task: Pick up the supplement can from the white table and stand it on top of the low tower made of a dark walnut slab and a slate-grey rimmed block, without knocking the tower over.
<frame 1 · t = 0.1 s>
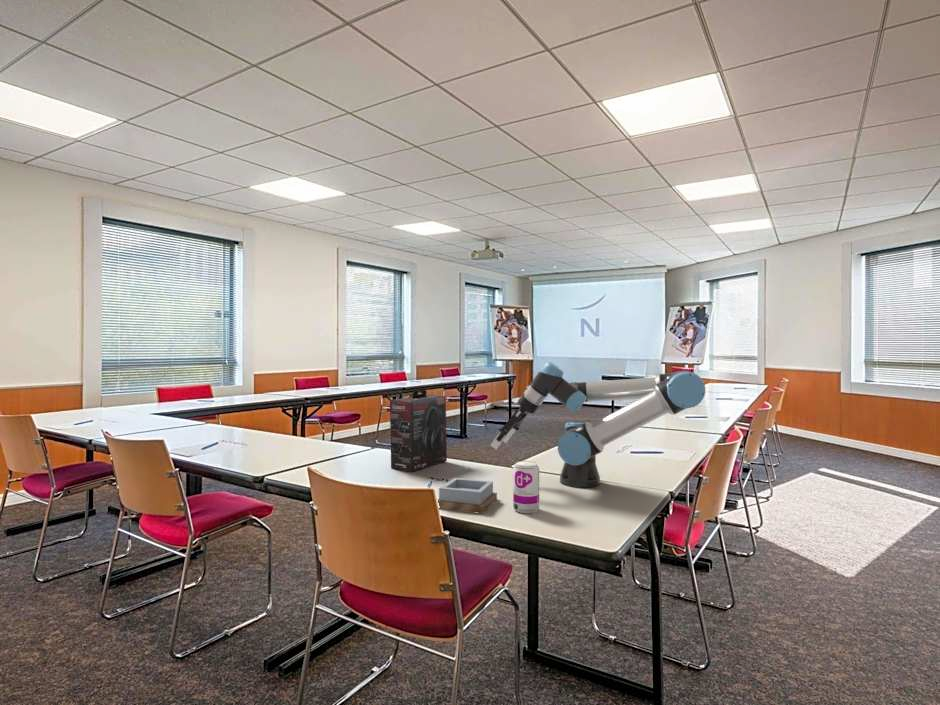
hand: (498, 443, 198), 15 cm above the table, tool tilted 35°, fingers open, 13 cm apart
headset box: (418, 465, 229), on the table
grey rimmed block: (466, 496, 174), point 2 cm above the table, touching walnut slab
supplement can: (526, 510, 168), on the table
walnut slab: (466, 505, 174), on the table, touching grey rimmed block
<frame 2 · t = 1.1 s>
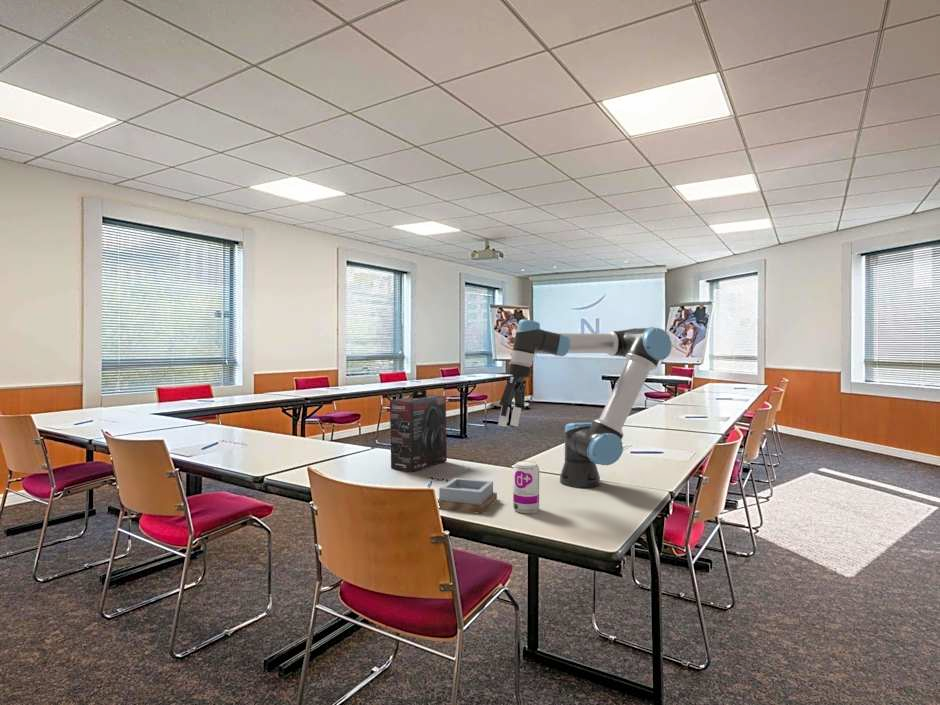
hand: (508, 426, 179), 25 cm above the table, tool pointing down, fingers open, 13 cm apart
nothing on the table moved.
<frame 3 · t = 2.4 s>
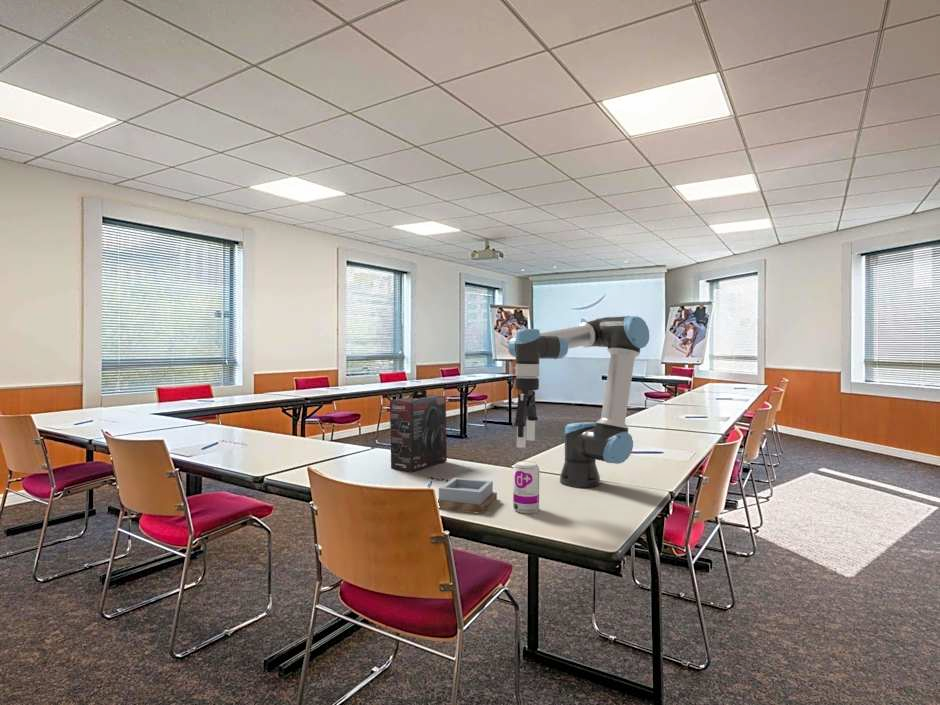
hand: (526, 443, 167), 21 cm above the table, tool pointing down, fingers open, 13 cm apart
nothing on the table moved.
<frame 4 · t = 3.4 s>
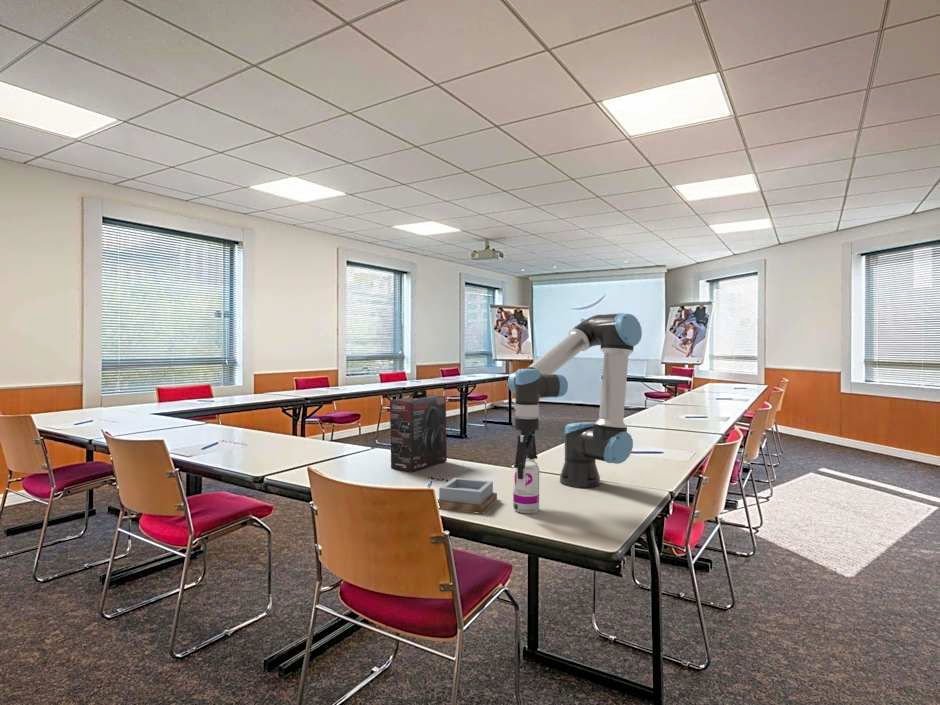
hand: (525, 483, 168), 8 cm above the table, tool pointing down, fingers open, 13 cm apart
grey rimmed block: (466, 496, 174), point 2 cm above the table
walnut slab: (467, 505, 174), on the table
everything else where it was.
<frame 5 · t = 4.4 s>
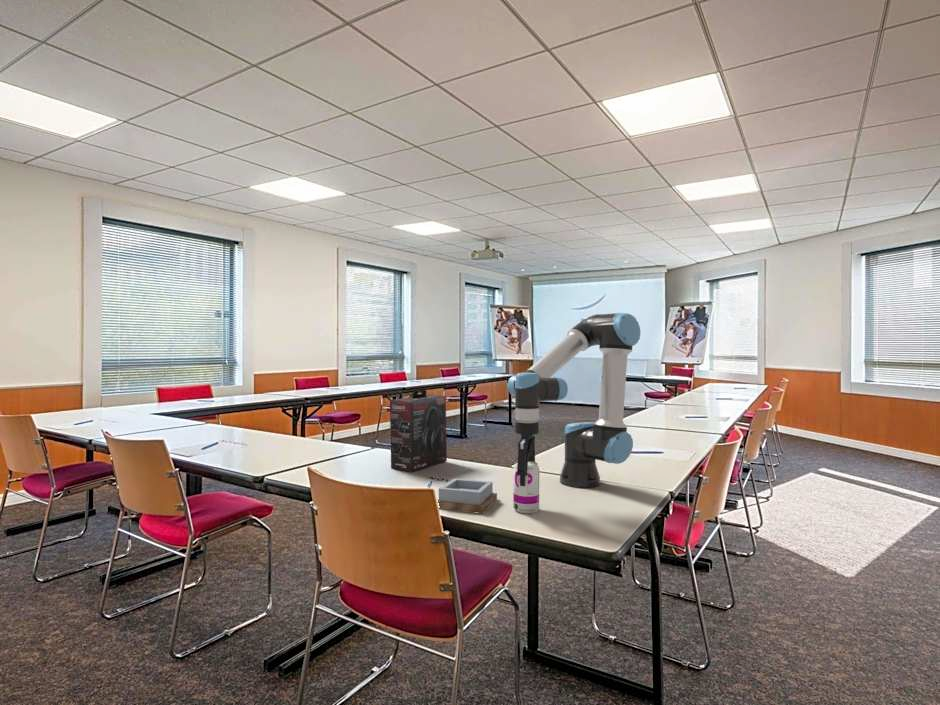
hand: (526, 491, 168), 6 cm above the table, tool pointing down, fingers closed on supplement can, 8 cm apart
grey rimmed block: (466, 497, 174), point 2 cm above the table, touching walnut slab
supplement can: (526, 510, 168), on the table, touching gripper
walnut slab: (467, 506, 174), on the table, touching grey rimmed block
everything else where it was.
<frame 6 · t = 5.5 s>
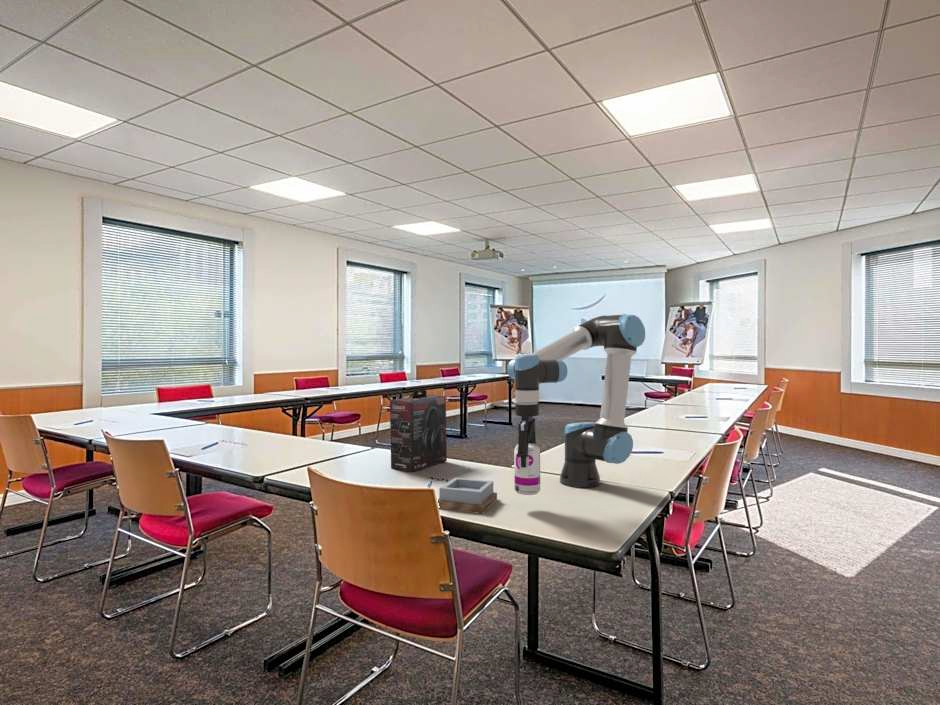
hand: (527, 473, 168), 12 cm above the table, tool pointing down, fingers closed on supplement can, 8 cm apart
supplement can: (527, 492, 168), point 6 cm above the table, touching gripper
everything else where it was.
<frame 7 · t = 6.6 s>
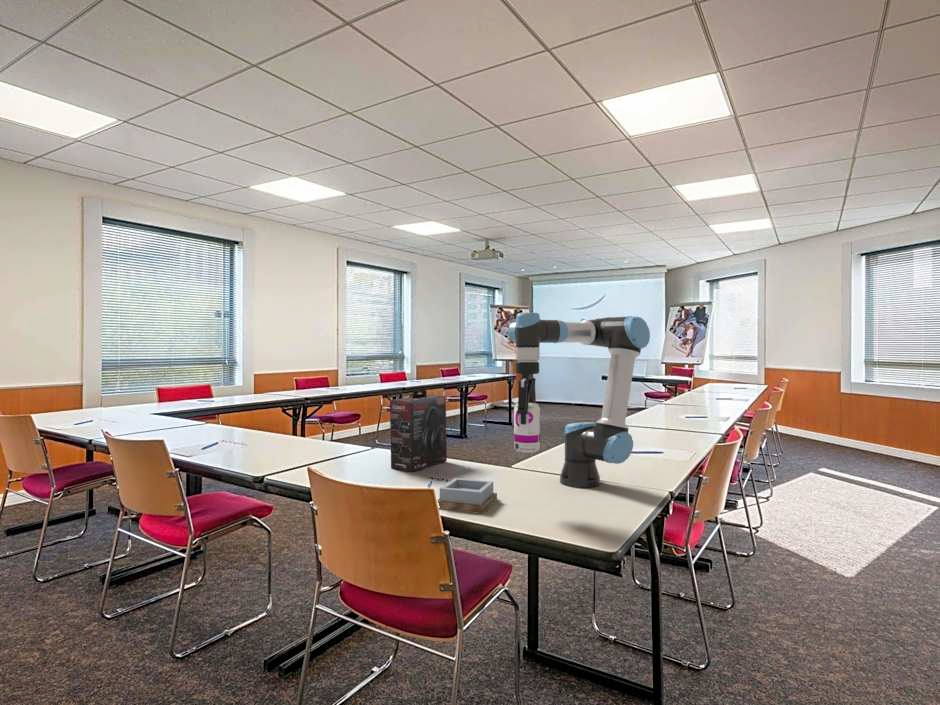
hand: (527, 432, 168), 25 cm above the table, tool pointing down, fingers closed on supplement can, 8 cm apart
grey rimmed block: (467, 496, 174), point 2 cm above the table
supplement can: (526, 451, 168), point 19 cm above the table, touching gripper
walnut slab: (467, 505, 174), on the table
everything else where it was.
when the fingers open (11 cm above the table, at t = 13.1 s): supplement can stays where it is, resting on grey rimmed block.
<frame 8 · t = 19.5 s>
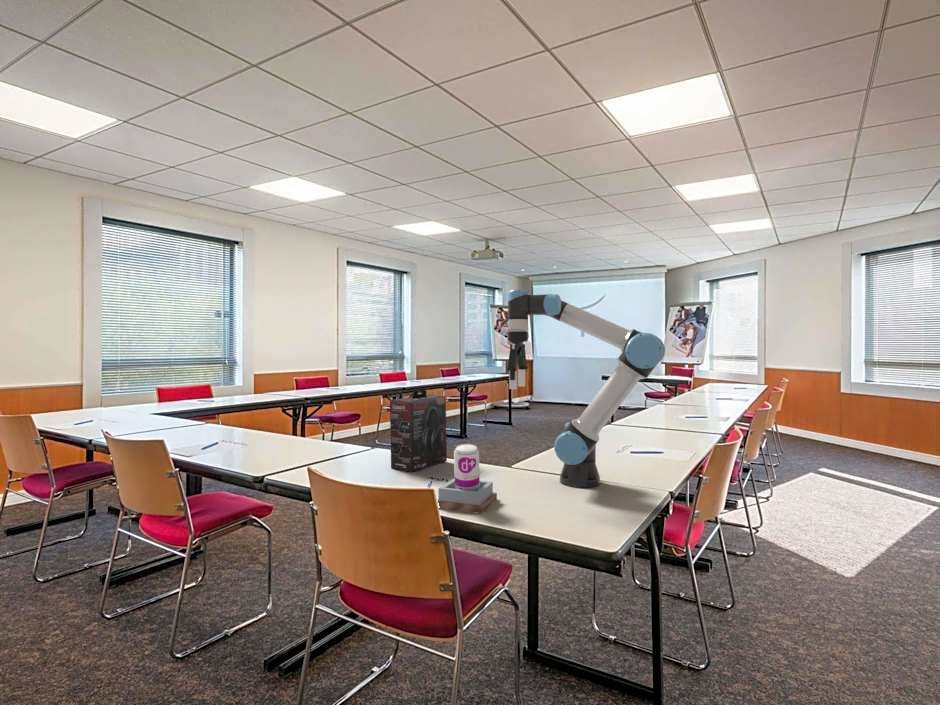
hand: (517, 387, 197), 37 cm above the table, tool pointing down, fingers open, 13 cm apart
grey rimmed block: (466, 497, 174), point 2 cm above the table, touching supplement can, walnut slab
supplement can: (467, 491, 174), point 4 cm above the table, touching grey rimmed block
walnut slab: (466, 505, 174), on the table, touching grey rimmed block
everything else where it was.
at the end: supplement can 0.4 cm off-centre on the grey rimmed block, point 2.0 cm above the grey rimmed block's base; grey rimmed block 0.5 cm off-centre on the walnut slab, point 3.0 cm above the walnut slab's base; supplement can tilted 10° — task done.
